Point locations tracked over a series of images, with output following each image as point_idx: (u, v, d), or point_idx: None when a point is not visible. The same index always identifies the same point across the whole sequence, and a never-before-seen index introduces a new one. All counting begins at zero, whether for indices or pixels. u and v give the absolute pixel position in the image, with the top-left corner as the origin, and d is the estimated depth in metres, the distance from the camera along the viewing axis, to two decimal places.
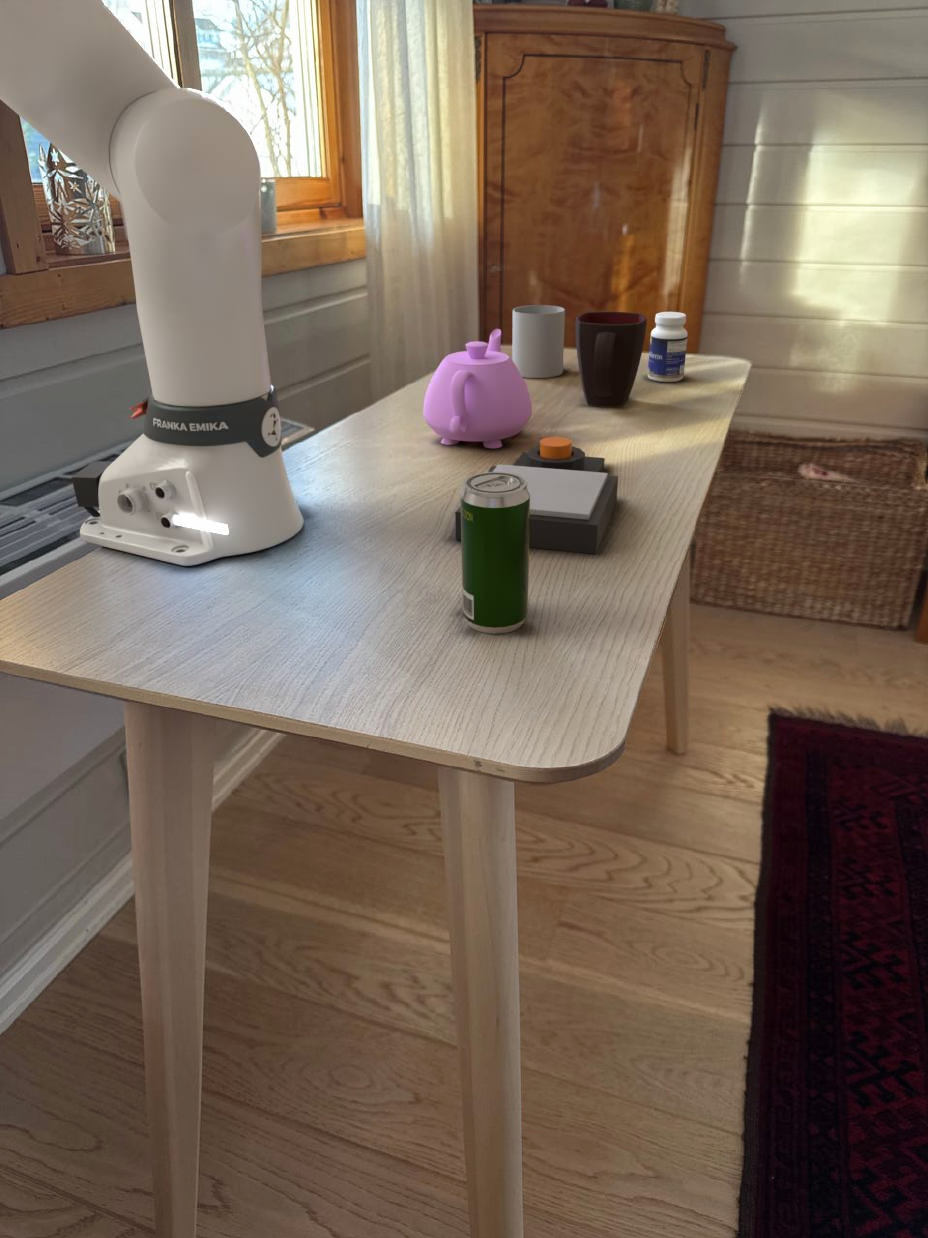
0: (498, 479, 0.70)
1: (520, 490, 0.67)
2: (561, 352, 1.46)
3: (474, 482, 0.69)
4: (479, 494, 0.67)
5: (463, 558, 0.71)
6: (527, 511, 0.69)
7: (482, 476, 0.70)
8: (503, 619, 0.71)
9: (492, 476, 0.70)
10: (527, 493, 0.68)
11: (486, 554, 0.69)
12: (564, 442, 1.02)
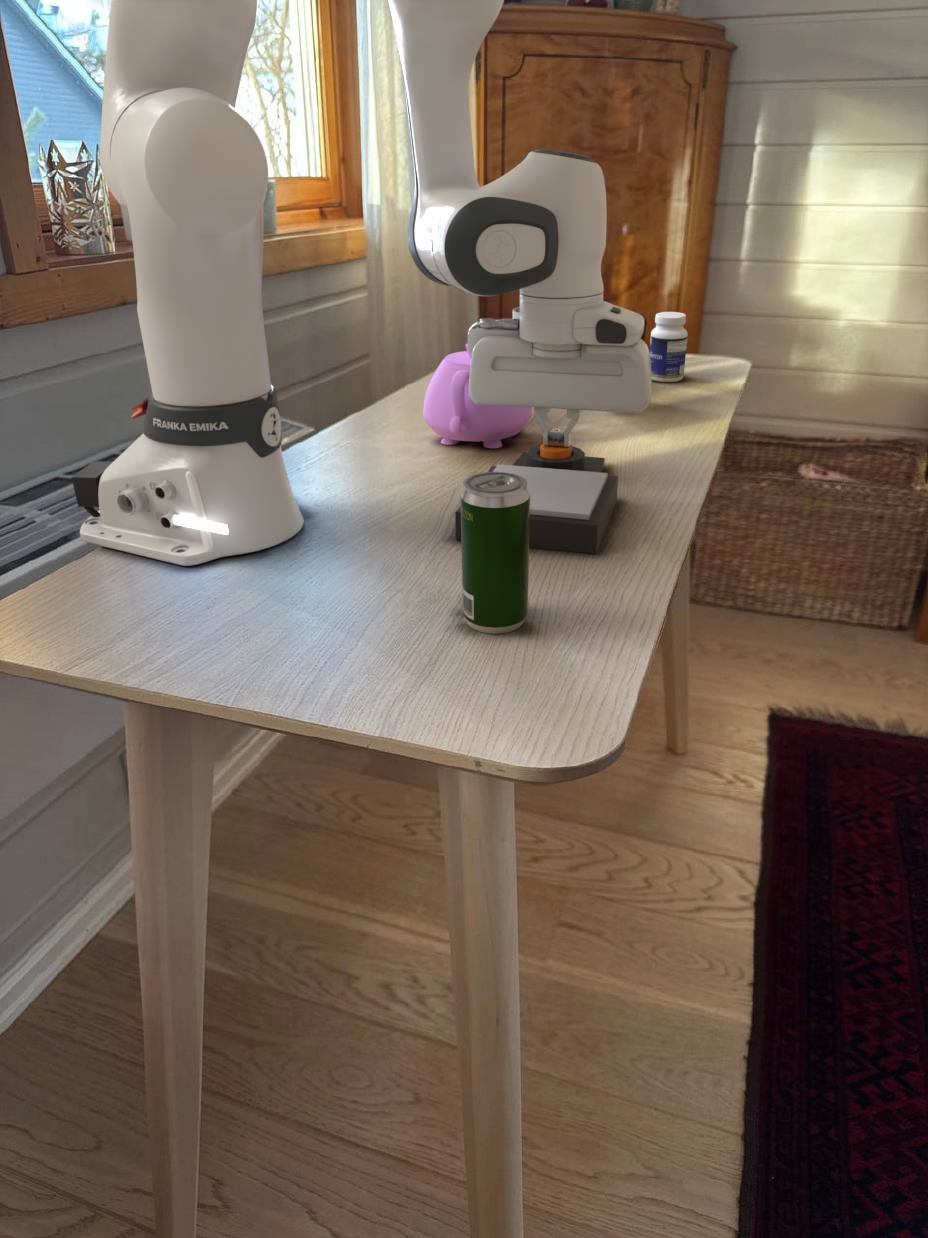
0: (498, 479, 0.70)
1: (520, 490, 0.67)
2: None
3: (474, 482, 0.69)
4: (479, 494, 0.67)
5: (463, 558, 0.71)
6: (527, 511, 0.69)
7: (482, 476, 0.70)
8: (503, 619, 0.71)
9: (492, 476, 0.70)
10: (527, 493, 0.68)
11: (486, 554, 0.69)
12: (564, 447, 1.02)
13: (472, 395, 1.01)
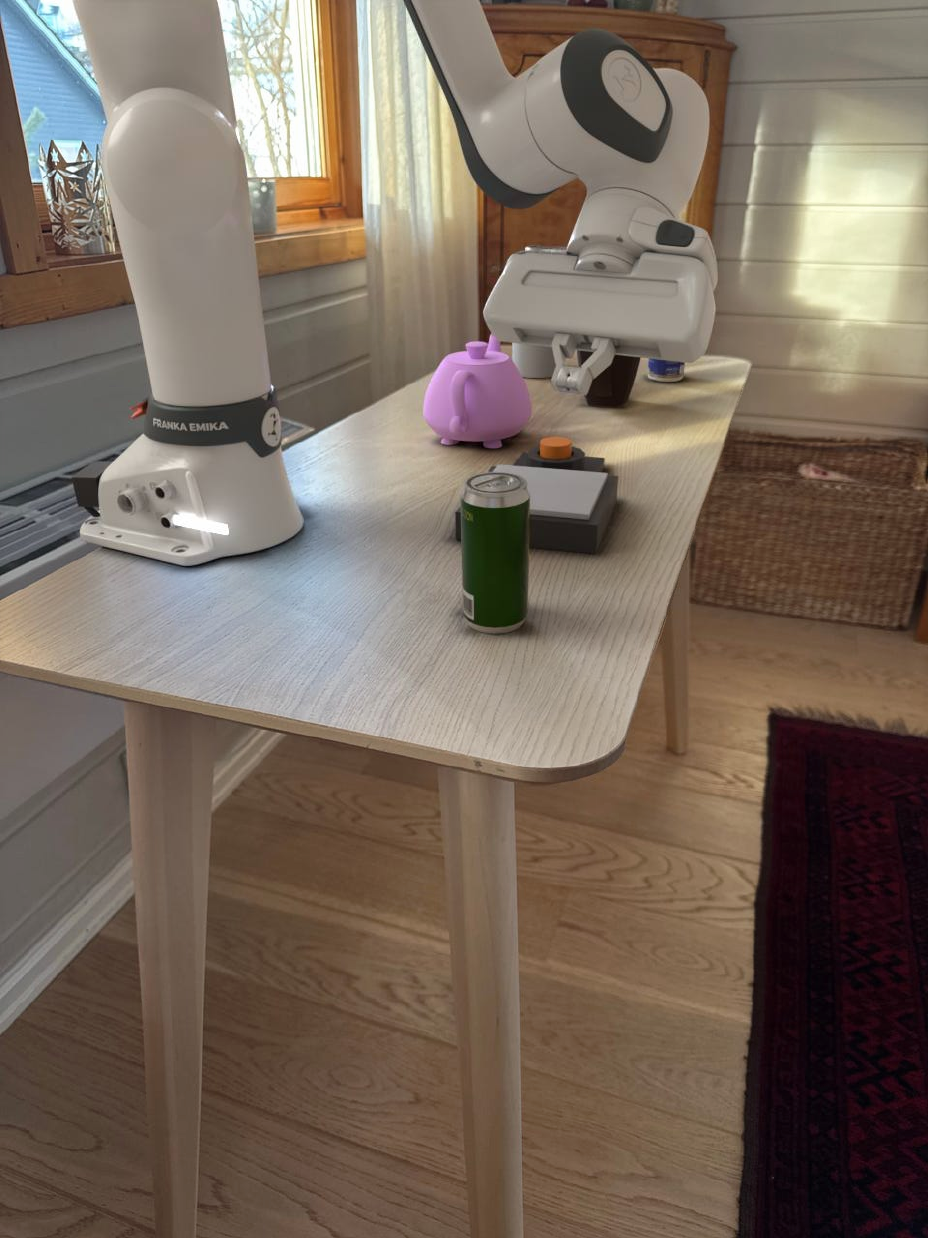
0: (498, 479, 0.70)
1: (520, 490, 0.67)
2: None
3: (474, 482, 0.69)
4: (479, 494, 0.67)
5: (463, 558, 0.71)
6: (527, 511, 0.69)
7: (482, 476, 0.70)
8: (503, 619, 0.71)
9: (492, 476, 0.70)
10: (527, 493, 0.68)
11: (486, 554, 0.69)
12: (564, 442, 1.02)
13: (487, 310, 0.81)
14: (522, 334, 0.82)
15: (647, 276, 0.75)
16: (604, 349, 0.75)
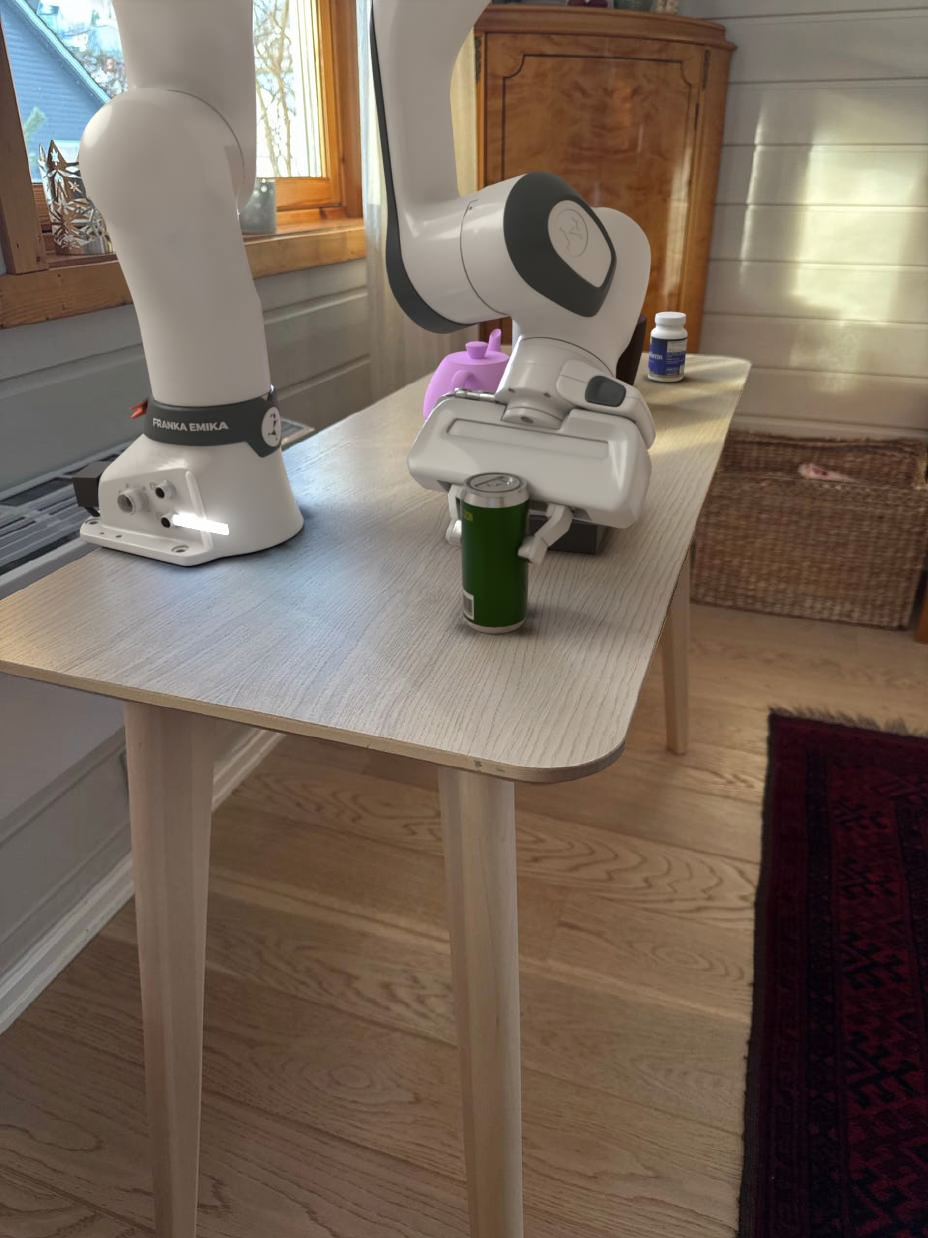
0: (498, 479, 0.70)
1: (520, 490, 0.67)
2: None
3: (474, 482, 0.69)
4: (479, 494, 0.67)
5: (463, 558, 0.71)
6: (527, 511, 0.69)
7: (482, 476, 0.70)
8: (503, 619, 0.71)
9: (492, 476, 0.70)
10: (527, 493, 0.69)
11: (486, 554, 0.69)
12: None
13: (409, 459, 0.75)
14: (448, 484, 0.76)
15: (577, 434, 0.69)
16: (559, 518, 0.68)
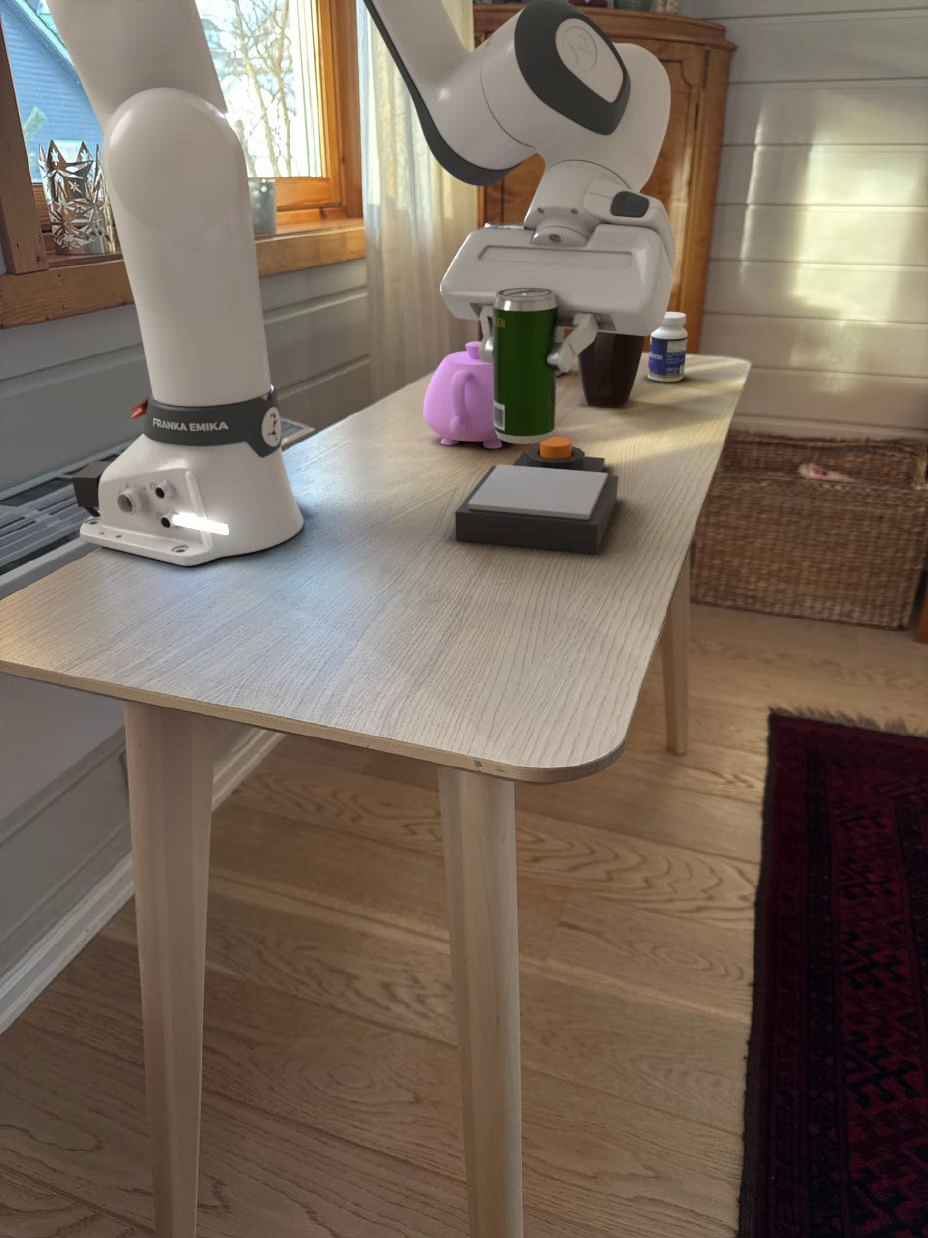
0: (528, 292, 0.74)
1: (549, 295, 0.72)
2: None
3: (506, 292, 0.73)
4: (511, 298, 0.71)
5: (495, 369, 0.75)
6: (555, 319, 0.73)
7: (513, 289, 0.74)
8: (532, 427, 0.76)
9: (522, 289, 0.74)
10: (555, 301, 0.73)
11: (517, 359, 0.73)
12: (564, 442, 1.02)
13: (443, 285, 0.79)
14: (479, 310, 0.80)
15: (602, 248, 0.74)
16: (586, 324, 0.73)
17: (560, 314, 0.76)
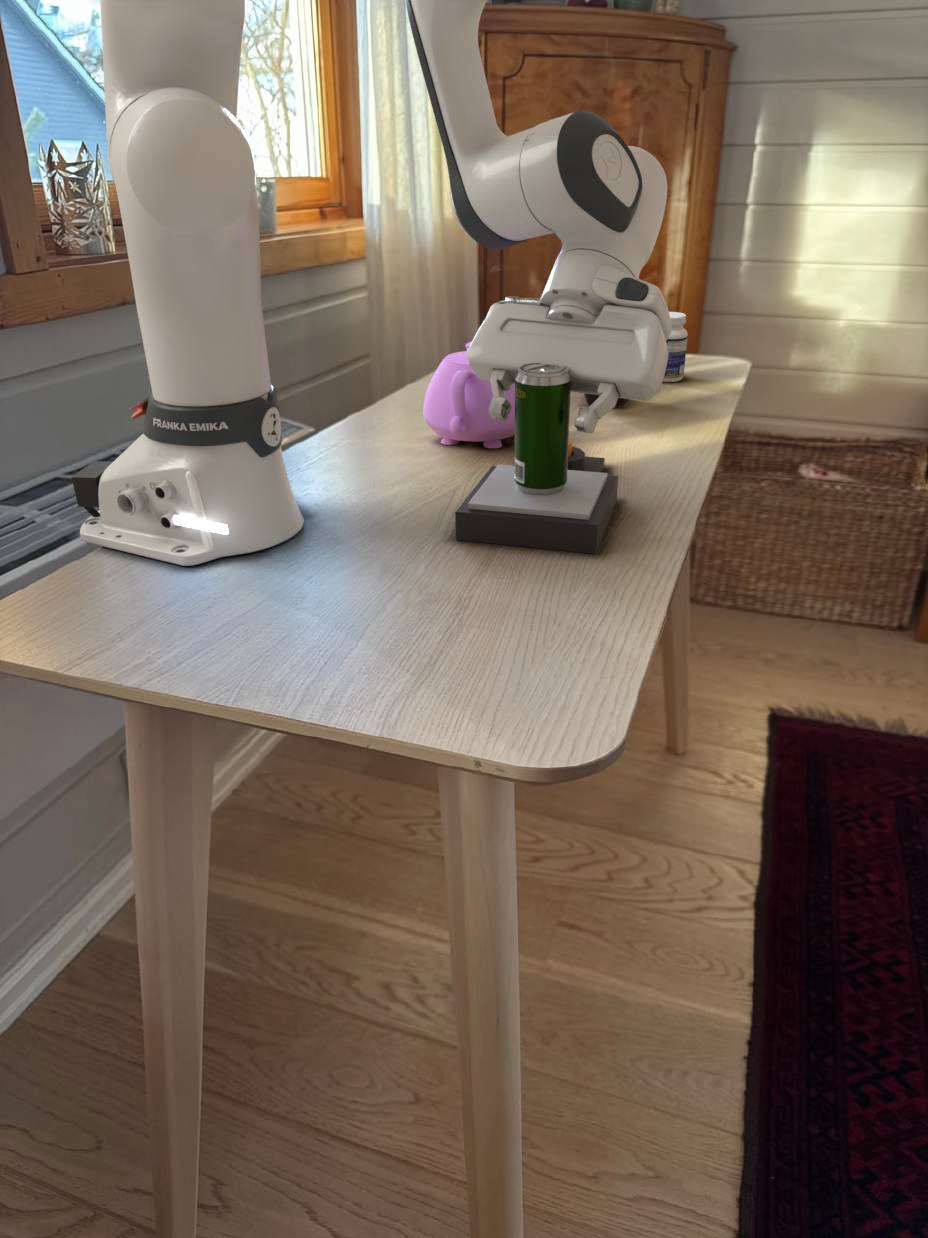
0: (545, 367, 0.87)
1: (564, 372, 0.84)
2: None
3: (526, 368, 0.86)
4: (531, 374, 0.84)
5: (516, 432, 0.88)
6: (569, 391, 0.86)
7: (532, 364, 0.87)
8: (548, 482, 0.89)
9: (540, 364, 0.87)
10: (569, 376, 0.86)
11: (536, 425, 0.86)
12: None
13: (470, 352, 0.92)
14: None
15: (608, 325, 0.86)
16: (609, 393, 0.84)
17: (571, 380, 0.89)
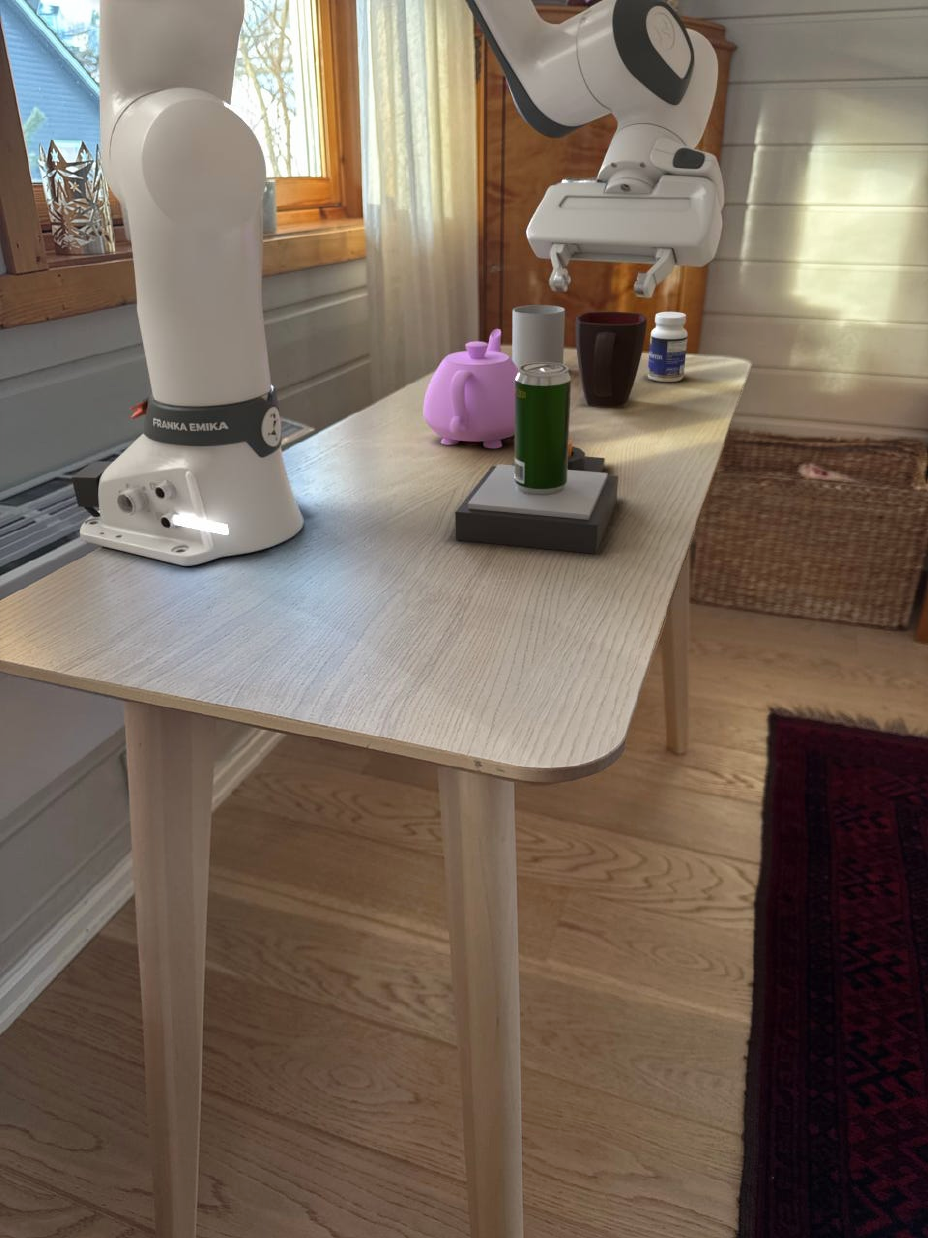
0: (545, 367, 0.87)
1: (564, 372, 0.84)
2: (561, 352, 1.46)
3: (526, 368, 0.86)
4: (531, 374, 0.84)
5: (516, 432, 0.88)
6: (569, 391, 0.86)
7: (532, 364, 0.87)
8: (548, 482, 0.89)
9: (540, 364, 0.87)
10: (569, 376, 0.86)
11: (536, 425, 0.86)
12: None
13: (529, 229, 0.96)
14: None
15: (665, 195, 0.90)
16: (667, 257, 0.89)
17: (629, 251, 0.93)
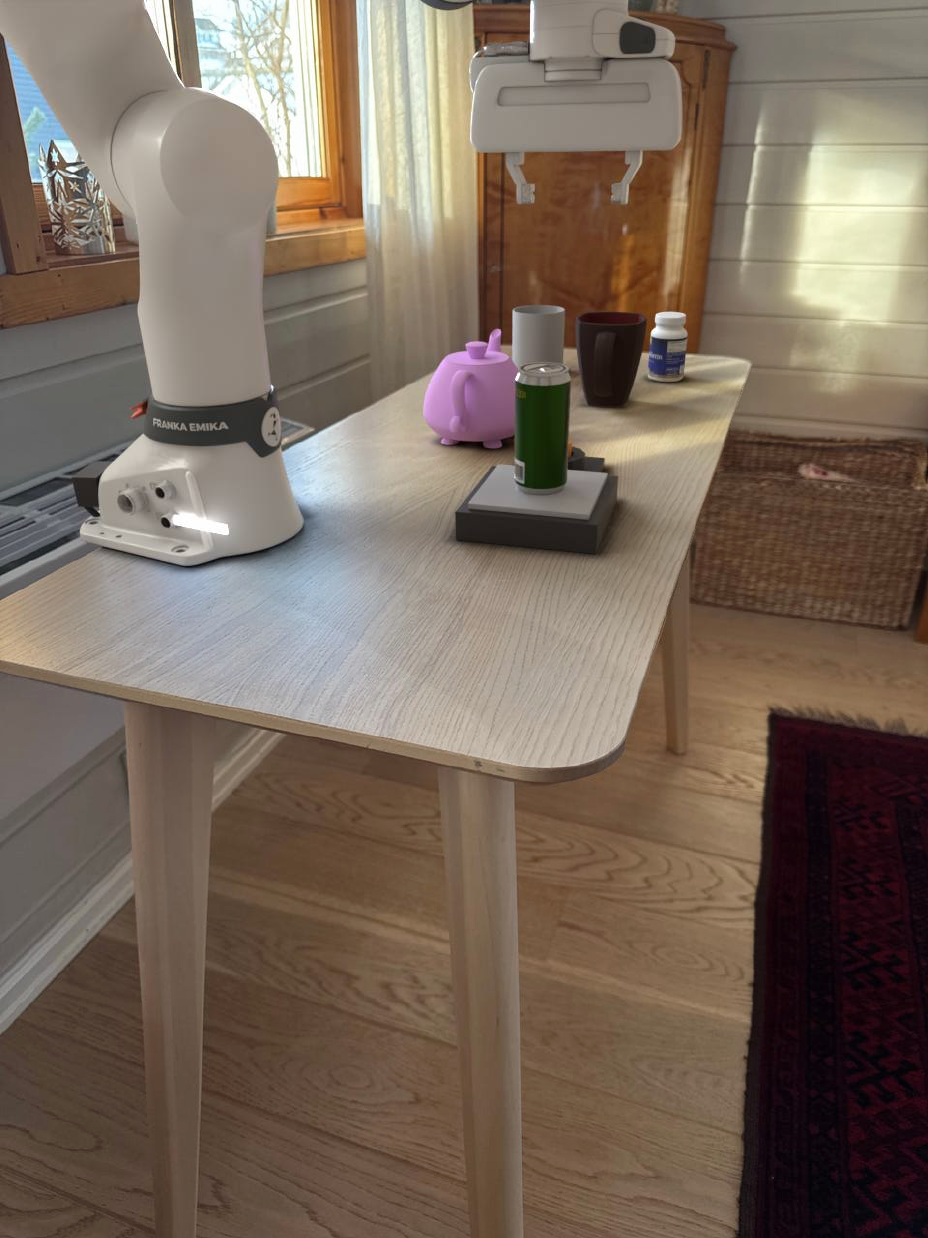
0: (545, 367, 0.87)
1: (564, 372, 0.84)
2: (561, 352, 1.46)
3: (526, 368, 0.86)
4: (531, 374, 0.84)
5: (516, 432, 0.88)
6: (569, 391, 0.86)
7: (532, 364, 0.87)
8: (548, 482, 0.89)
9: (540, 364, 0.87)
10: (569, 376, 0.86)
11: (536, 425, 0.86)
12: None
13: (474, 140, 0.87)
14: None
15: (618, 81, 0.82)
16: (638, 163, 0.85)
17: None
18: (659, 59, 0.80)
